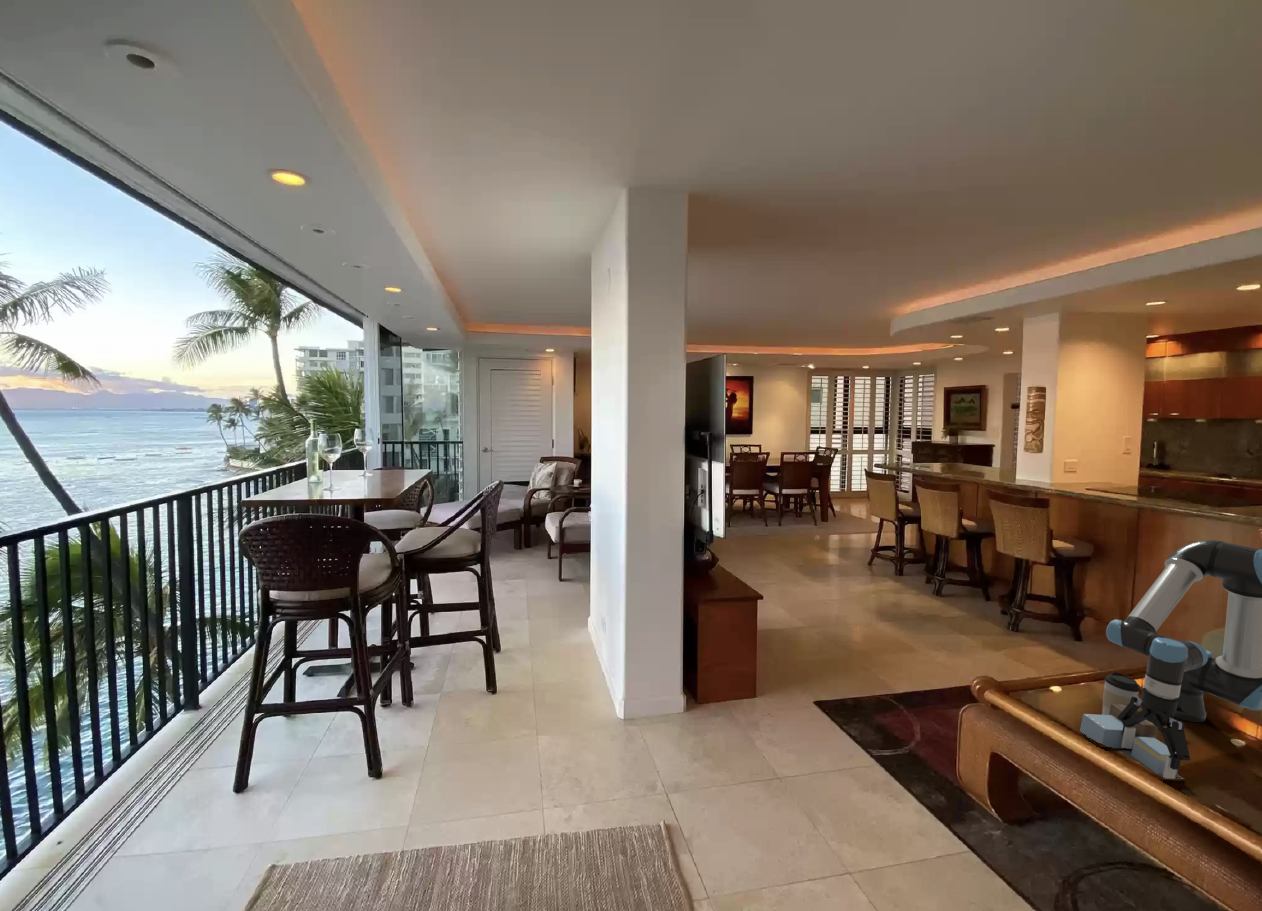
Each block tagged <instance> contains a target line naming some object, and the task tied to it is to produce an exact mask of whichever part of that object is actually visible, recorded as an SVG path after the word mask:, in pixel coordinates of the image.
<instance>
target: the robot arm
mask: <svg viewBox="0 0 1262 911" xmlns="http://www.w3.org/2000/svg"><path fill="white" fill-rule="evenodd" d="M1164 567H1165V568H1164V569H1163V571H1162V572H1161V573H1160V574H1159V575H1158V577H1157V578H1156V579H1155V581H1154V582H1153V583H1152V585H1151V586H1150V587H1149V588H1148V590H1147V591H1146V592H1145V594H1144V595H1143V596H1142V597H1141V599H1140V600H1139V601H1138V603H1137V604H1136V606H1134V608H1133V609H1132V610H1131V612H1130V613H1129V615H1128V616H1127V617H1126V619H1125V620H1122V619H1116V618H1115V619H1113V620H1110V622H1109V623H1108V625H1107V626H1106V630H1105V635H1106V639H1107V640H1108V641H1109V642H1112V643H1113V644H1116V645H1118V646H1120V647H1122V648H1125V649H1129V650H1131V651H1133V652H1137V653H1139V654H1142V655H1144V656H1147V657H1148V660H1147V666H1146V671H1145V676H1144V683H1143V688H1142V692H1141V696H1138V697H1131V700H1130V703H1129V704H1128V705H1127V706H1126V708H1125V709H1124V710H1123V711H1122V712H1121V713H1120V714H1119V716H1118V720H1121V721H1122V724H1123V730H1122V735H1123V740H1122V745H1121V747H1122V748H1121V749H1123V748H1126V750H1127V749H1128V750H1132V746H1133V741H1134V736H1135V731H1136V728H1134V727H1132V726H1134V725H1136V724H1138V723H1140V722H1142V721H1144V720H1147V721H1149V722H1152V723H1153V724H1154V725H1155V726H1157V727H1158V731H1159V732H1160V733H1161V735H1162V737H1163V738H1162V739H1163V740H1164V742H1165V743H1164V744H1165V745H1166V746H1167V748H1168V750H1169V753H1170V755H1167V758H1166V763H1165V768H1164V773H1163V777H1164V778H1170V779H1175V775H1176V770H1178V771H1179V769H1180V767H1181V762H1182V761H1184V762H1185V761H1187V762H1189V761H1191V756H1190V751H1189V745H1188V743H1187V737H1186V733H1185V728H1186V726H1185V725H1186V724H1185V722H1186V721H1188V722H1193V723H1204V722H1205V721H1206V718H1207V710H1206V709H1205V701H1204V693H1207V694H1210V695H1212V696H1215V697H1217V698H1219V699H1222V700H1224V701H1227V702H1230V703H1232V704H1235V705H1236V706H1238V707H1242V708H1245V709H1248V710H1251V711H1255V712H1256V711H1257V712H1258V711H1261V710H1262V549H1260V548H1254V547H1249V546H1245V545H1241V544H1234V543H1230V542H1226V541H1222V540H1216V539H1203V540H1199V541H1194V542H1191V543H1188V544H1185V545H1184V546H1181V547H1180V548H1178V549H1177V550H1175V551H1174V552H1172V553H1171V554H1170V555H1169V556H1168V557H1167V559H1166V560H1165V561H1164ZM1205 576H1209V577H1211V578H1212V577H1213V578H1217V579H1219V580H1220V579H1221V580H1222V583H1221V585H1222V589H1224V590H1225V591H1226V592H1227V593H1228V596H1227V603H1226V604H1227V606H1226V613H1225V617H1226V618H1225V625H1224V626H1225V627H1224V636H1223V637H1224V638H1223V639H1224V640H1223V648H1222V655H1219V656H1217V657H1216V658H1213V653H1212V652H1211V651H1209V650H1207V649H1205V648H1204V647H1203V646H1202V645H1201V644H1199V643H1197V642H1195V641H1191V640H1178V639H1175V638H1172V637H1169V636H1165V635H1163V634H1161V633H1157V631H1158V630H1159V628H1160V627H1161V626H1162V625H1163V624H1164V623H1165V621H1166V619H1167V618H1168V617H1169V615H1170V614H1171V613H1172V611H1174V609H1175V607H1177V605H1178V604H1179V602H1180V601H1181V599H1182V598H1183V597H1184V596H1185V594H1186V593H1187V592H1188V591H1189V589H1190V588H1191V587H1192V585H1194V583H1195V582H1199V581H1201V580H1202V579H1203V578H1204V577H1205ZM1140 708H1141V710H1140ZM1137 710H1140V712H1138V713H1137V714H1136V715H1135V716H1133V715H1134V713H1135V712H1136V711H1137ZM1132 716H1133V717H1132ZM1174 718H1176V719H1174ZM1177 719H1179V720H1183V721H1178V720H1177ZM1184 721H1185V722H1184ZM1175 752H1176V754H1175Z"/></svg>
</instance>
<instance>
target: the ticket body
mask: <svg viewBox="0 0 1262 911" xmlns="http://www.w3.org/2000/svg"><path fill="white" fill-rule="evenodd" d="M1122 730H1123V724H1122V721H1121V720H1118V718H1117V717H1115V716H1114V715H1102V714H1095V713H1094V714H1093V713H1082V719H1081V724H1080V728H1079V732H1080V733H1081V734H1083V735H1084V734H1085V735H1086V736H1085V735H1084V736H1085V737H1087V738H1088V739H1089V738H1091V739H1093V740H1095V741H1096V742H1098V743H1101V744H1103V745H1105V746H1107V747H1112V748H1111V749H1123V748H1122V747H1121V745H1122V740H1123V735H1122ZM1135 735H1136V731H1135ZM1091 739H1090V740H1091ZM1134 739H1135V736H1134ZM1133 744H1134V741H1133ZM1132 748H1133V746H1132Z"/></svg>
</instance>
